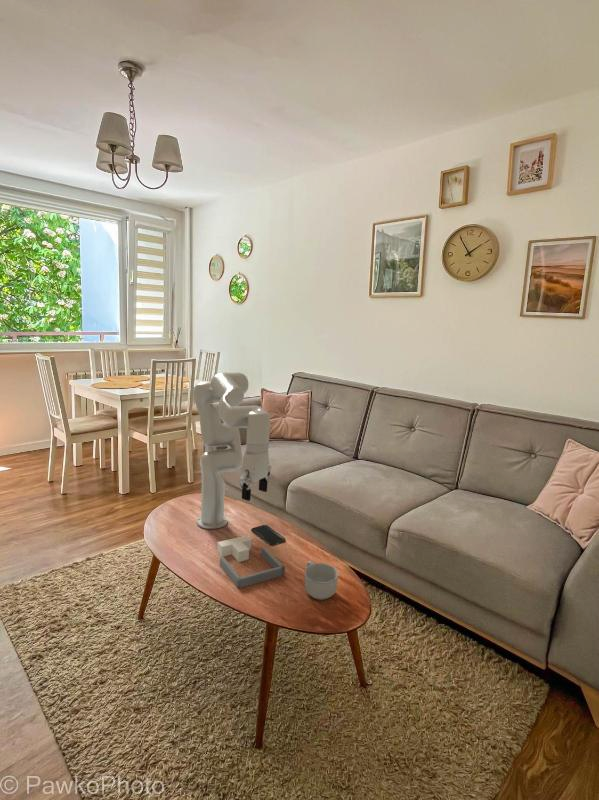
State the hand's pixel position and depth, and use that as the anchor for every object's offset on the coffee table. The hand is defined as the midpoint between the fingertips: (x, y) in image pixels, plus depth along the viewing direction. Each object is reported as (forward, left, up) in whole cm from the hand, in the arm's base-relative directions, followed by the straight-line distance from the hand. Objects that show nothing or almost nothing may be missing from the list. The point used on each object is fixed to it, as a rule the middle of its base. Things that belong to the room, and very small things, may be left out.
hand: (254, 495), depth 151 cm
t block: (-9, -1, -27) cm, 28 cm away
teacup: (+23, +13, -27) cm, 38 cm away
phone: (-17, +16, -27) cm, 36 cm away
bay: (+2, -1, -27) cm, 27 cm away
